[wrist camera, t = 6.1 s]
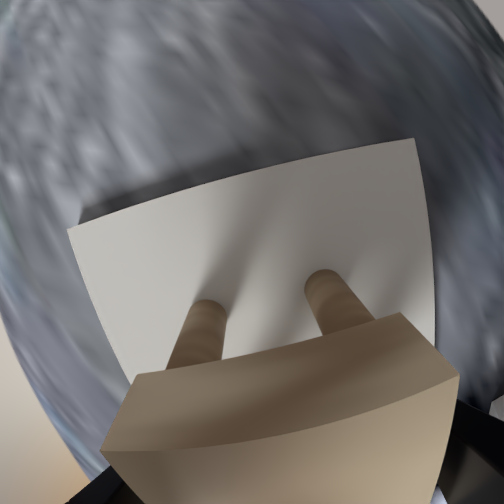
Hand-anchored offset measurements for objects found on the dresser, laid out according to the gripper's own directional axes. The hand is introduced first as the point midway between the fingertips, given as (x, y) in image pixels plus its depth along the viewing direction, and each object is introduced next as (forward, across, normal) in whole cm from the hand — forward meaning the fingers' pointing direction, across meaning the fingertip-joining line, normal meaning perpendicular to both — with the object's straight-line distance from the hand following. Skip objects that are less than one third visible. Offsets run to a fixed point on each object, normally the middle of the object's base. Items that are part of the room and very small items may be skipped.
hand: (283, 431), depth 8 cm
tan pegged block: (+4, 0, 0) cm, 4 cm away
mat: (+5, 0, 0) cm, 5 cm away
